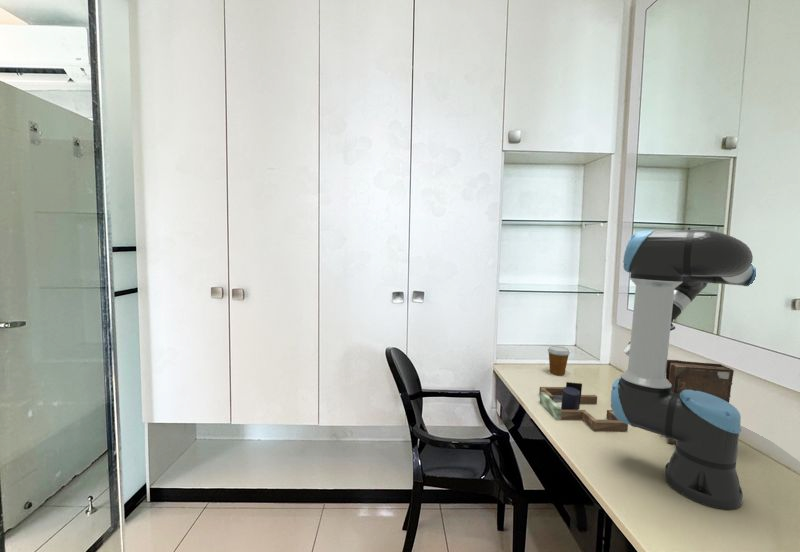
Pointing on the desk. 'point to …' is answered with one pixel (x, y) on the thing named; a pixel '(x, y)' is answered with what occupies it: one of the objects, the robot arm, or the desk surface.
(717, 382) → the book
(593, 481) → the desk surface
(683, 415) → the robot arm
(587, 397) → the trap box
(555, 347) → the disposable coffee cup
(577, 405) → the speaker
